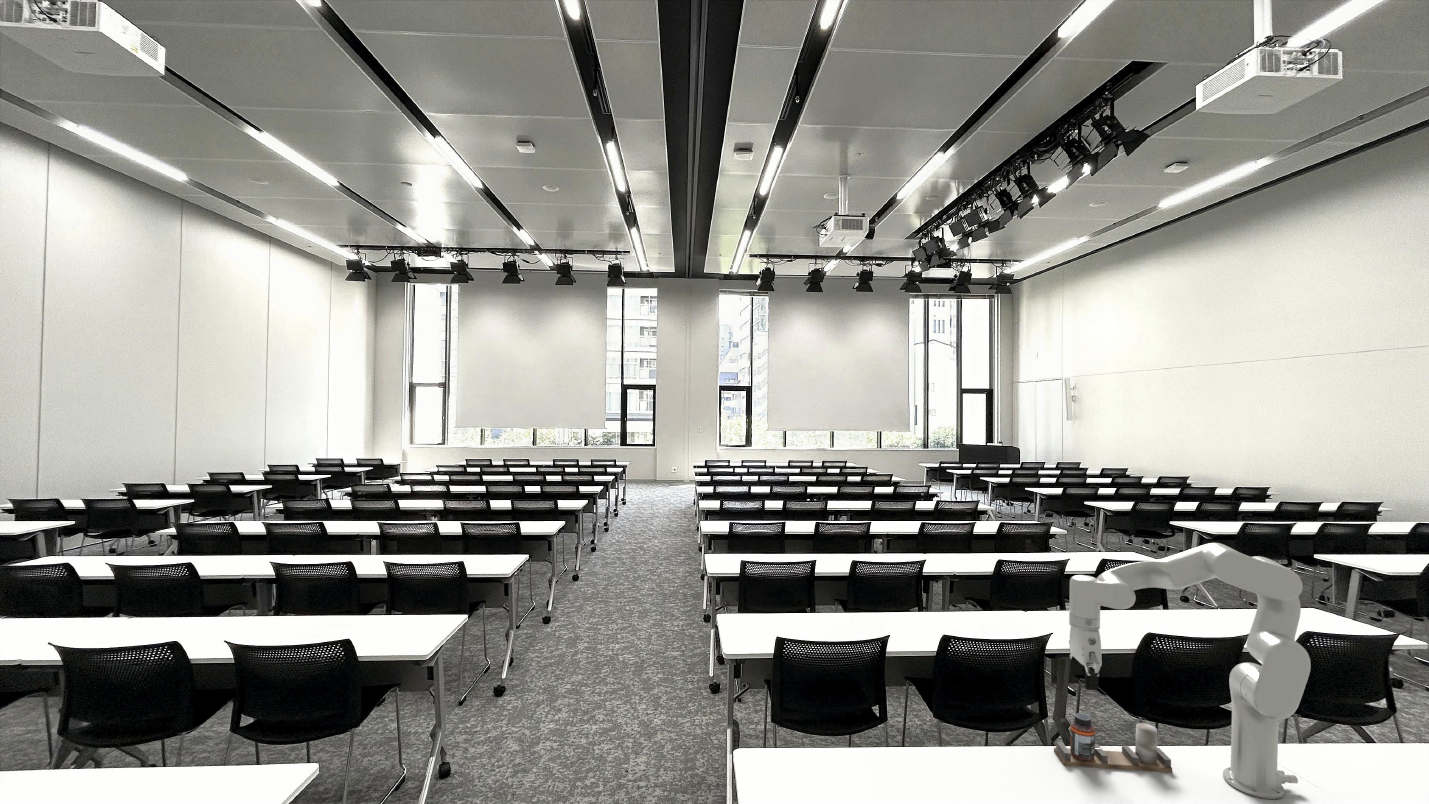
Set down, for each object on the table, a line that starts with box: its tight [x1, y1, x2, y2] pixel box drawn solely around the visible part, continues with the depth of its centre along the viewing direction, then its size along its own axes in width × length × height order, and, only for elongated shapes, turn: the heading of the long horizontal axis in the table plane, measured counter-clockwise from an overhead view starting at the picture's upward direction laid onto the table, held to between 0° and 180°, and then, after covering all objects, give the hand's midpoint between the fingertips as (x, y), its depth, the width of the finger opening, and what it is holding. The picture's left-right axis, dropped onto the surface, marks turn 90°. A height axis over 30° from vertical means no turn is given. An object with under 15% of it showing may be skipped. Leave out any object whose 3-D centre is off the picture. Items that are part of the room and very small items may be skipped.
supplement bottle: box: [1069, 712, 1096, 761], centre depth 186 cm, size 6×6×11 cm
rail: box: [1053, 722, 1173, 773], centre depth 186 cm, size 28×7×10 cm, turn 84°
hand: (1083, 681), depth 186 cm, fingers open, 9 cm apart
